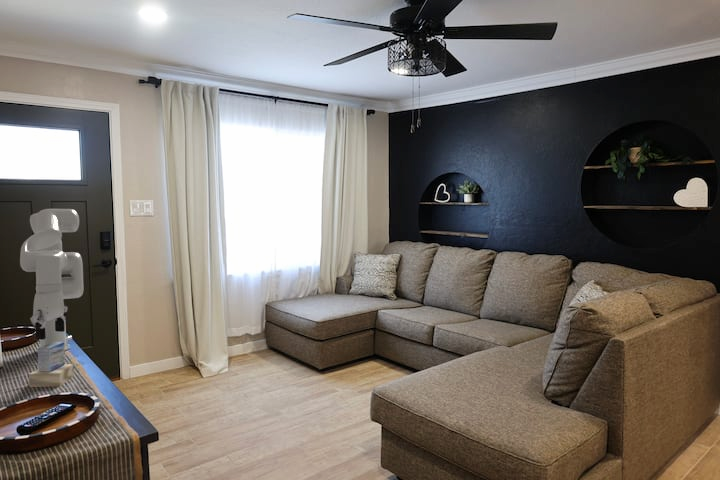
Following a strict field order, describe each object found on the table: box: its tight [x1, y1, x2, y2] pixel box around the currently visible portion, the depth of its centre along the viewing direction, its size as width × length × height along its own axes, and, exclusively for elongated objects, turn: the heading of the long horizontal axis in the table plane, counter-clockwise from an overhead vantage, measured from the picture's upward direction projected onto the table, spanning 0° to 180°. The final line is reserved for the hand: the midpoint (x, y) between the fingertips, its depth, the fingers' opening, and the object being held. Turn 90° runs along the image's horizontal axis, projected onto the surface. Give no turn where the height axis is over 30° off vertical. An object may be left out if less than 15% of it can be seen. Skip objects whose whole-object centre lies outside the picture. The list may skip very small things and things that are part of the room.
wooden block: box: [28, 363, 75, 388], centre depth 171 cm, size 10×10×5 cm
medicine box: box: [37, 342, 66, 372], centre depth 171 cm, size 8×4×9 cm, turn 178°
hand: (50, 335), depth 171 cm, fingers open, 9 cm apart
